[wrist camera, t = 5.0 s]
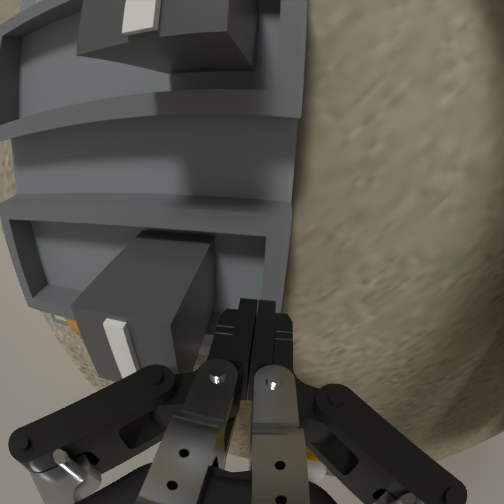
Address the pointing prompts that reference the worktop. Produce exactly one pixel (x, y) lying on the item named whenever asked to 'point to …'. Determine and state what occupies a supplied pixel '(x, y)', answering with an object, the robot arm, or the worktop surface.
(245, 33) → the knob
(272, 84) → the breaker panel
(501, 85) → the worktop surface
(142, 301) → the knob tagged
